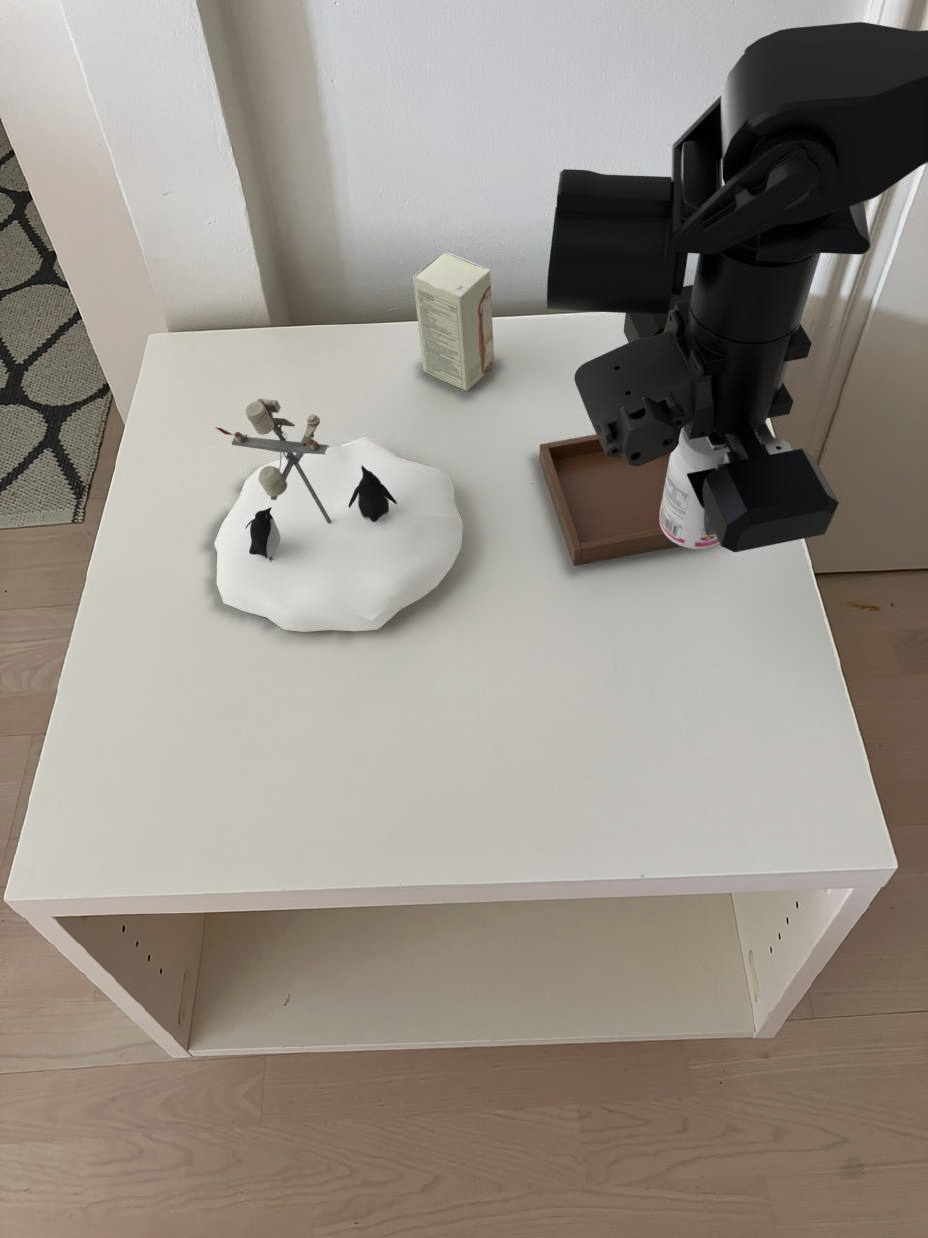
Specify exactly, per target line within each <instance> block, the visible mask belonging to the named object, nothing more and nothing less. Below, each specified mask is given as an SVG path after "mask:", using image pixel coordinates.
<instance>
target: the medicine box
mask: <svg viewBox="0 0 928 1238" xmlns="http://www.w3.org/2000/svg"><path fill="white" fill-rule="evenodd" d="M412 281H413V282H412V283H413V291H414V300H415V301H414V302H415V309H416V316H417V324H418V325H417V326H418V334H419V342H420V352H421V359H422V369H423V371H424V372H425V373H427V374H429V375H430V376H433V377H434V378H437V379H439V380H441V381H443V382H445V383H448V384H450V385H452V386H454V387H456V388H458V389H461V390H463V391H465V392H467V391H469V390H470V389H471V388H472V387H473V386H474V385H476V383H478V382H479V381H480V380H481V379H482V378H483V377H484V376H485V375H486V374H487V373H488V372H489V371H490V370H491V369H492V368H493V367H494V366H495V350H494V331H493V327H494V326H493V307H492V303H493V302H492V283H491V270H490V269H489V268H487V267H485V266H483V265H480V264H478V263H476V262H473V261H470V260H468V259H466V258H463V257H461V256H458V255H456V254H453V253H450V252H448V251H446V250H445V251H442V252H441V253H439V254H438V255H437V256H436V257H434V258H433V259H432V260H431V261H429V262H428V263H427V264H426V265H425V266H423V267H422V268H421V269H420V270H419V271H417V272H416V273H415V274H413V276H412Z"/></svg>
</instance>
